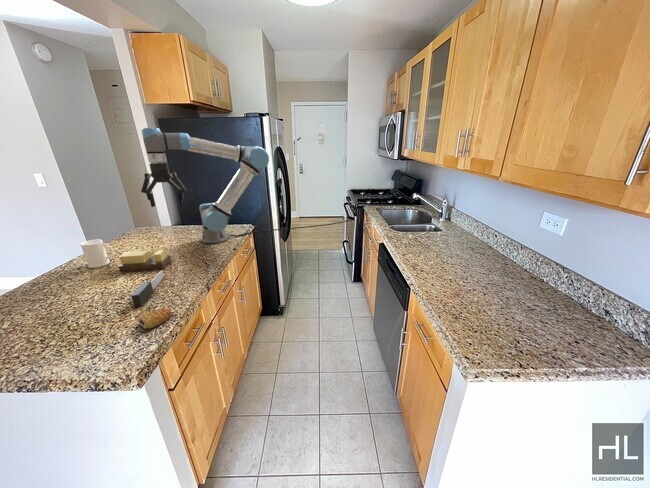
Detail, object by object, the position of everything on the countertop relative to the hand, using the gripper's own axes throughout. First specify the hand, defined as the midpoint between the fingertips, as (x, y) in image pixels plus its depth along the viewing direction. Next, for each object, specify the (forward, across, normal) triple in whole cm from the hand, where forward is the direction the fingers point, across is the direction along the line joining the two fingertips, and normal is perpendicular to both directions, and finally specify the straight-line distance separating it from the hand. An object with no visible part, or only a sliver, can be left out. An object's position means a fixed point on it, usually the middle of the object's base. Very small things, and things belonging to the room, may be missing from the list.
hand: (167, 205), depth 133 cm
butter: (+24, -14, -14) cm, 31 cm away
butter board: (+27, -10, -14) cm, 32 cm away
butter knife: (+27, +3, -39) cm, 47 cm away
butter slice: (+24, -3, -14) cm, 28 cm away
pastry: (+27, +13, -61) cm, 68 cm away
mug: (+27, -33, -8) cm, 43 cm away
